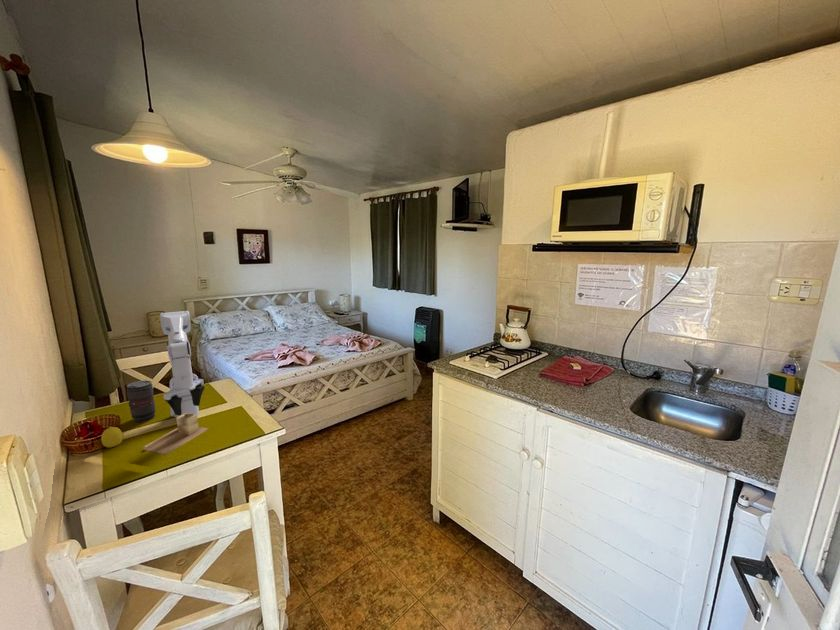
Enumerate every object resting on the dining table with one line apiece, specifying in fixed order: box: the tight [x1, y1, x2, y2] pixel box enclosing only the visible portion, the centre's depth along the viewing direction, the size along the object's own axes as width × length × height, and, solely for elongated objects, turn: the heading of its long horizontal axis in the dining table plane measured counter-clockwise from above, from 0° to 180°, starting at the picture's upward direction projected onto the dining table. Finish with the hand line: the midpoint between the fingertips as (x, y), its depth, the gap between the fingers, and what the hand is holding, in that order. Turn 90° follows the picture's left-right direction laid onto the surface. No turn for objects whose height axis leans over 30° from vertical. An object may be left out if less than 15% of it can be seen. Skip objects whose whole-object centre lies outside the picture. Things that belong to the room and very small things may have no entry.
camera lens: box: [126, 380, 156, 423], centre depth 139 cm, size 8×8×15 cm
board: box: [142, 426, 210, 455], centre depth 123 cm, size 10×17×3 cm, turn 166°
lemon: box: [100, 426, 124, 448], centre depth 119 cm, size 6×6×8 cm
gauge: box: [175, 413, 200, 435], centre depth 128 cm, size 5×4×7 cm
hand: (187, 409), depth 127 cm, fingers open, 7 cm apart
